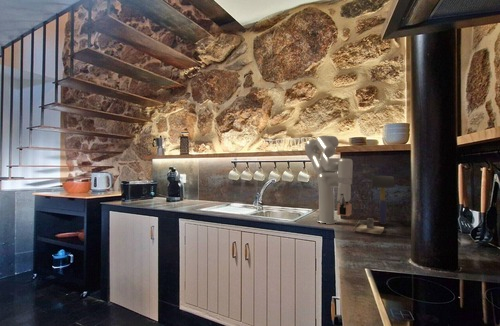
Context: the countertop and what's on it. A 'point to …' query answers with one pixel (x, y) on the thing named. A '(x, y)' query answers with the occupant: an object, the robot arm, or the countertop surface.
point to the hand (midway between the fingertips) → (344, 213)
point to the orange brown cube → (348, 209)
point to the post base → (375, 230)
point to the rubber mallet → (383, 192)
